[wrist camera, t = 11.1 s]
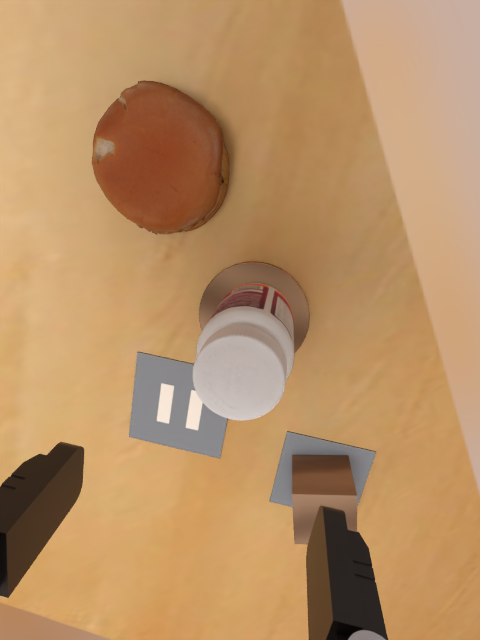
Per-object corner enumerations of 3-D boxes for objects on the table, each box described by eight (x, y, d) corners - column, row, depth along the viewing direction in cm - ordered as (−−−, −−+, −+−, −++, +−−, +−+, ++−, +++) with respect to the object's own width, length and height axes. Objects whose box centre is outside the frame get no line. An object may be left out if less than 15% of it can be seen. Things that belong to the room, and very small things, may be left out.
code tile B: (287, 431, 35) (287, 432, 35) (376, 451, 35) (376, 452, 35) (269, 501, 38) (269, 501, 38) (352, 521, 37) (352, 521, 37)
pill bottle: (205, 329, 33) (162, 394, 22) (241, 266, 31) (213, 304, 20) (269, 366, 33) (257, 448, 22) (308, 306, 31) (317, 364, 20)
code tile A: (137, 351, 35) (137, 352, 35) (236, 373, 34) (236, 374, 34) (129, 436, 38) (128, 437, 37) (220, 458, 37) (219, 458, 37)
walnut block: (292, 454, 36) (292, 494, 31) (348, 455, 35) (356, 495, 30) (294, 499, 37) (294, 543, 32) (348, 501, 36) (356, 546, 32)
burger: (238, 224, 30) (228, 228, 26) (126, 236, 32) (99, 242, 28) (222, 82, 28) (208, 60, 23) (101, 102, 29) (66, 85, 25)
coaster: (209, 251, 31) (207, 252, 31) (320, 274, 31) (321, 275, 30) (193, 353, 34) (192, 356, 33) (295, 376, 33) (295, 379, 33)
